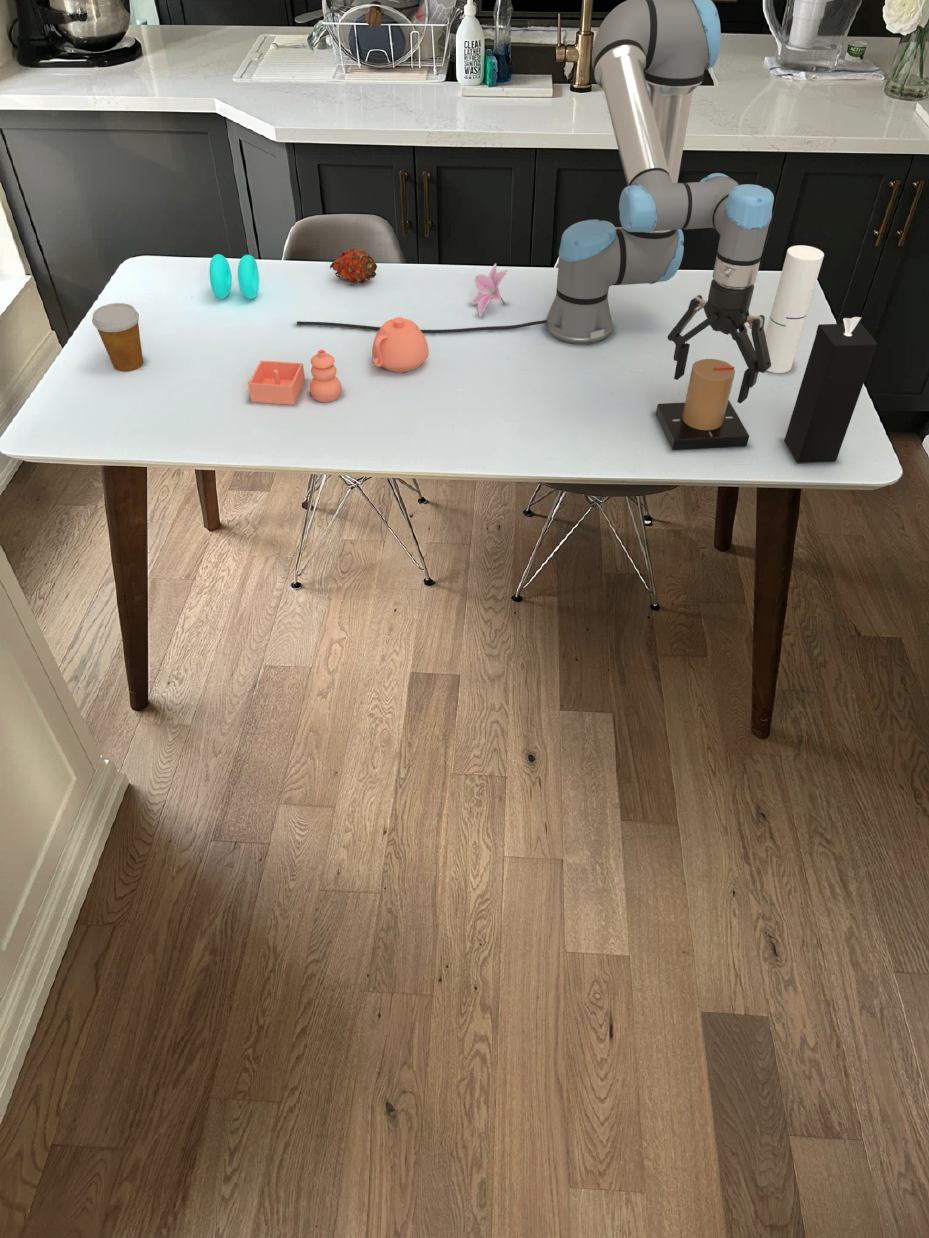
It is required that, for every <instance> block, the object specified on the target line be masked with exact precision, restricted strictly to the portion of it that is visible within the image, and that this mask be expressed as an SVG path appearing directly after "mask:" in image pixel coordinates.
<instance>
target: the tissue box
mask: <svg viewBox="0 0 929 1238" xmlns="http://www.w3.org/2000/svg"><path fill="white" fill-rule="evenodd" d="M861 319H862V316H861V317H860V316H853V317H851V318H850V317H844V318H843V319H842V321H843V323H823V324H822V323H821V324H818V325H817V328H816V332H815V337H814V340H813V343H812V347H811V350H810V353H809V356H808V361H807V363H806V367H805V370H804V373H803V376H802V380H801V383H800V386H799V389H798V393H797V397H796V399H795V403H794V406H793V410H792V413H791V415H790V420H789V424H788V426H787V430H786V433H785V436H784V439H783V440H784V443H785V445H786V446H787V449H788V450H789V452H790V453H791V455H792V457H793V458H794V460H795V462H796V463H797V464H807V463H808V464H809V463H828V462H837V460H838V457H839V455H840V451H841V449H842V446H843V442H844V440H845V437H846V434H847V432H848V428H849V426H850V423H851V420H852V418H853V414H854V412H855V409H856V406H857V402H858V400H859V397H860V394H861V392H862V389H863V386H864V383H865V381H866V377H867V375H868V372H869V370H870V366H871V363H872V360H873V359H874V358H873V357H874V355H875V353H876V352H877V349H878V346H879V344H878V342H877V341H876V340H875V339H874V337H873V336H872V335H871V334H870V333H869V332H868V330H867V329H866V328H865V326H864V325H863V324H862V323H861V322H860V321H861Z"/></svg>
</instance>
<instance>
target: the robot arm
mask: <svg viewBox="0 0 929 1238" xmlns="http://www.w3.org/2000/svg"><path fill="white" fill-rule="evenodd" d="M721 31H722V30H721V21H720V16H719V13H718V9H717V7H716V5H715V3H714V2H713V1H712V0H625V1H623V2H621V3H619V4H618V5H616V6H615V7H614V8H613V9H612V10H611V11H610V12H609V13H608V14H607V15H606V16H605V18H604V19H603V21H602V23H601V24H600V26H599V28H598V30H597V32H596V35H595V37H594V41H593V46H592V51H591V67H592V71H593V72H592V73H593V75H594V80H595V82H596V84H597V85H598V86H599V87H600V88H601V89H603V93H604V97H605V101H606V104H607V105H606V106H607V109H608V113H609V117H610V121H611V125H612V129H613V133H614V137H615V141H616V145H617V149H618V154H619V157H620V161H621V165H622V170H623V174H624V178H625V182H626V187H624V188H623V190H622V191H621V193H620V197H619V201H618V202H619V204H618V211H619V222H620V225H621V227H622V228H616V226H615V225H614V224H613V223H612V222H610V221H607V220H605V219H603V220H599V219H586V220H582V221H578V222H575V223H573V224H572V225H569V226H568V227H567V228H566V229H565V230H564V231H563V233H562V234H561V240H560V246H559V249H558V267H557V280H556V281H557V282H556V293H555V296H554V299H553V301H552V303H551V306H550V309H549V311H548V313H547V316H546V318H545V319H543V320H537V321H529V322H525V323H520V324H512V325H511V324H510V325H499V326H497V325H495V326H478V327H477V326H476V327H465V328H451V329H450V328H448V329H420V330H421V332H422V333H423V334H447V333H448V334H450V333H467V332H476V331H477V332H478V331H494V330H512V329H520V328H524V327H530V326H531V327H532V326H537V325H544V324H545V330H546V332H547V334H549V335H550V337H552V338H554V339H556V340H558V341H560V342H563V343H566V344H567V343H568V344H574V345H590V344H595V343H600V342H602V341H604V340H606V339H607V338H608V337H610V335H611V334H612V327H613V319H612V314H611V310H610V304H609V299H608V297H609V290H610V287H612V286H623V285H624V286H626V285H629V286H630V285H642V284H648V285H653V284H656V283H662V282H667V281H669V280H671V279H672V278H673V277H675V275H676V274H677V272H678V270H679V269H680V266H681V263H682V260H683V257H684V252H685V251H684V250H685V246H684V242H685V237H684V232H683V230H695V229H696V230H697V229H698V230H699V229H711V228H712V229H713V230H715V231H716V232H717V233H718V234H719V240H718V247H717V251H716V257H715V262H714V266H713V271H712V280H711V281H710V284H709V285H710V286H709V290H708V296H707V300H705V299H703V296H702V295H701V294H698V295H696V296H695V297H694V298H691V300H690V301H689V303H688V304H689V305H688V308H687V310H686V312H685V313H684V314H683V315H682V317H681V318H680V319H679V320H678V321H677V323H676V325H675V326H674V327H673V328H672V329H671V331H670V332H669V333H668V335H667V338H666V339H667V340H668V341H670V342H673V344H674V345H675V348H674V353H673V361H675V362H676V365H675V370H674V376H673V380H676V381H678V380H680V378H682V377H683V376H684V375H685V371H686V366H687V361H688V356H689V352H690V346H691V345H690V344H691V343H688V341H689V340H691V339H692V338H694V337H695V336H696V335H697V334H699V333H701V332H702V331H703V330H705V329H707V328H708V327H709V326H710V328H711V329H712V331H715V332H721V333H722V334H724V335H727V336H729V335H730V336H731V338H732V340H733V341H735V343H736V345H737V347H738V349H739V351H740V354H741V356H742V358H743V360H744V362H745V364H746V366H747V368H746V369H745V370H744V372H743V377H742V380H741V384H740V389H739V392H738V396H737V401H736V402H737V403H738V404H742V403H743V402H744V401H745V400H747V399H748V396H749V393H750V389H751V388H753V387H754V386H755V385H756V384H757V381H758V377H759V373H761V374H764V373H766V370H768V369H769V368H770V367H771V361H770V356H769V351H768V347H767V342H766V337H765V335H766V332H765V321H766V319H765V318H766V317H765V315H763V314H760V315H758V316H757V315H751V314H750V311H749V310H750V307H751V304H752V303H751V302H752V298H753V295H754V290H755V283H756V281H757V277H758V272H759V268H760V263H761V259H762V255H763V251H764V248H765V243H766V239H767V235H768V232H769V227H770V223H771V221H772V219H773V218H772V217H773V207H774V201H775V196H774V194H773V192H772V190H770V189H769V188H767V187H763V186H761V185H758V184H751V183H750V184H749V183H748V184H745V183H744V184H739V183H738V181H736V180H734V178H731V177H730V176H728V175H726V174H724V173H721V172H715V173H714V172H713V173H711V174H709V175H707V176H706V177H704V178H702V179H701V180H699V181H695V182H678V181H679V176H680V169H681V164H682V158H683V151H684V146H685V139H686V133H687V127H688V122H689V121H688V120H689V115H690V109H691V103H692V98H693V92H694V90H695V89H697V88H698V87H699V86H700V85H701V84H703V78H704V74H705V73H704V72H705V70H706V71H707V70H710V69H711V68H713V67H714V66H715V65H716V63H717V60H718V59H719V56H720V50H721V43H722V42H721V41H722V33H721ZM702 309H703V312H704V314H705V316H706V319H704V320H703V321H702V322H700V323H699V324H697V325H696V326H695V327H694V328H692V329H690V330H689V331H688V332H686V333H685V334H683V335H681V333H682V332H683V331H684V329H685V328H686V327H687V326H688V325H689V323H690V322H691V320H692V319H693V318H694V317H695V316H696V314H697V313H698V312H700V311H701V310H702ZM746 323H748V328H749V329H750V330H751V338H750V336H749V335H748V329H747V327H746ZM296 325H297V326H301V325H302V326H327V327H341V328H351V329H362V330H372V331H379V329H380V328H381V326H373V325H363V324H351V323H341V322H328V321H298V320H297V321H296ZM751 339H752V341H751Z"/></svg>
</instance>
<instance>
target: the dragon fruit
mask: <svg viewBox="0 0 929 1238" xmlns="http://www.w3.org/2000/svg"><path fill="white" fill-rule="evenodd" d="M329 269H330V270H331V269H332V270H333V271H335V272H334V275H335V276H336V277H337V278H338V279H339V280H347V281H348V282H349V284H350V285H352V286H353V285H355V284H357V283H358V282H359V283H360V284H364V283H366V282H367V280H371V279H373V278H375V277H376V276H377V273H376V271H377V269H378V265H377V263H376V261H375V259H374V258H373V256H372V255H370V254H367V252H366V251H364V250H362V249H361V248H358V249H357V250H356V249H353V248H350V249H347V250H346V251H345V252H344V251H343V252H341V255H340V257H338V258H336V259H335V260H334V261H333V262H331V264H330V266H329Z"/></svg>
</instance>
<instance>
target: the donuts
mask: <svg viewBox="0 0 929 1238" xmlns="http://www.w3.org/2000/svg"><path fill="white" fill-rule="evenodd" d="M232 281H233V278H232V270H231V266H230V263H229V261H228V259H227V258H226V257H225V256H224V255H223V254H220V253H216V254H214V255H213V256H212V257H211V259H210V262H209V282H210V287H211V290H212V293H213V295H214V297H216V298H217V299H221V300H223V299H226V298H227V297H228V296H229V295H230V292H231V289H232V284H233V283H232ZM237 282H238V287H239V290H240V292H241V294H242V295H243V297H244V298H246V299H248V300H254V299H255V298H257V296H258V293H259V289H260V288H259V287H260V275H259V266H258V263H257V261H256V258H255V257H254V256H253V255H251V254H244V255H243V256H242V257H241V258H240V260H239V262H238V266H237Z"/></svg>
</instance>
